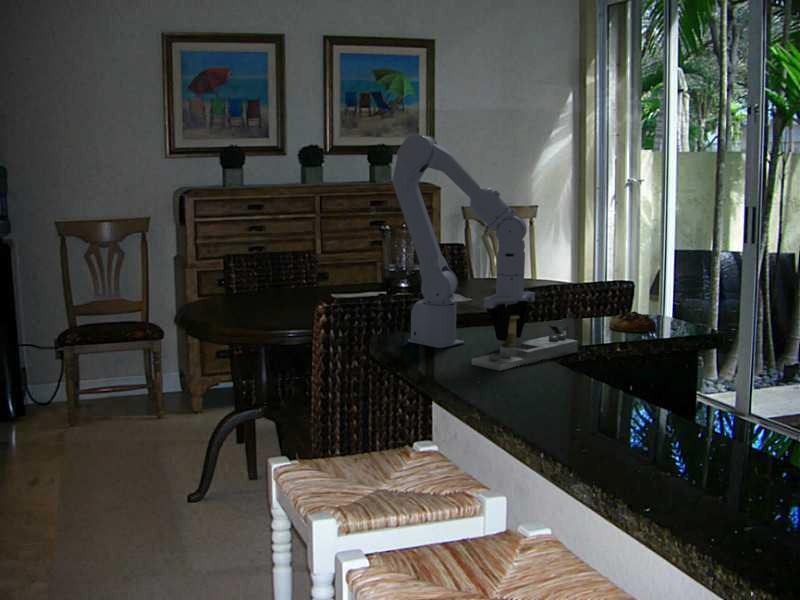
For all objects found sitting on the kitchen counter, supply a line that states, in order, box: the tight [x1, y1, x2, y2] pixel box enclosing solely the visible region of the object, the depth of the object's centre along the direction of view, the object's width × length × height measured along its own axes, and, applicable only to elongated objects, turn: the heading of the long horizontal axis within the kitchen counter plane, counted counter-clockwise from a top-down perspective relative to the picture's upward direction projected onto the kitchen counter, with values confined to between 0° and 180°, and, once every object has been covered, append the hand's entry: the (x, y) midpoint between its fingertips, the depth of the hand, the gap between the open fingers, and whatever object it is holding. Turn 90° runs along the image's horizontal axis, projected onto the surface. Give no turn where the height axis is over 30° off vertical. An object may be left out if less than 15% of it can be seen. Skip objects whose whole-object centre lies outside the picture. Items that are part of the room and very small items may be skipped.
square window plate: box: [471, 351, 551, 372], centre depth 185 cm, size 7×16×2 cm, turn 135°
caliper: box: [549, 312, 575, 340], centre depth 215 cm, size 20×1×6 cm, turn 3°
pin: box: [500, 313, 520, 346], centre depth 198 cm, size 4×4×7 cm
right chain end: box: [499, 333, 579, 360], centre depth 191 cm, size 7×17×3 cm, turn 135°
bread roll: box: [608, 311, 657, 333], centre depth 222 cm, size 11×11×5 cm
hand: (508, 338), depth 198 cm, fingers closed on pin, 4 cm apart
